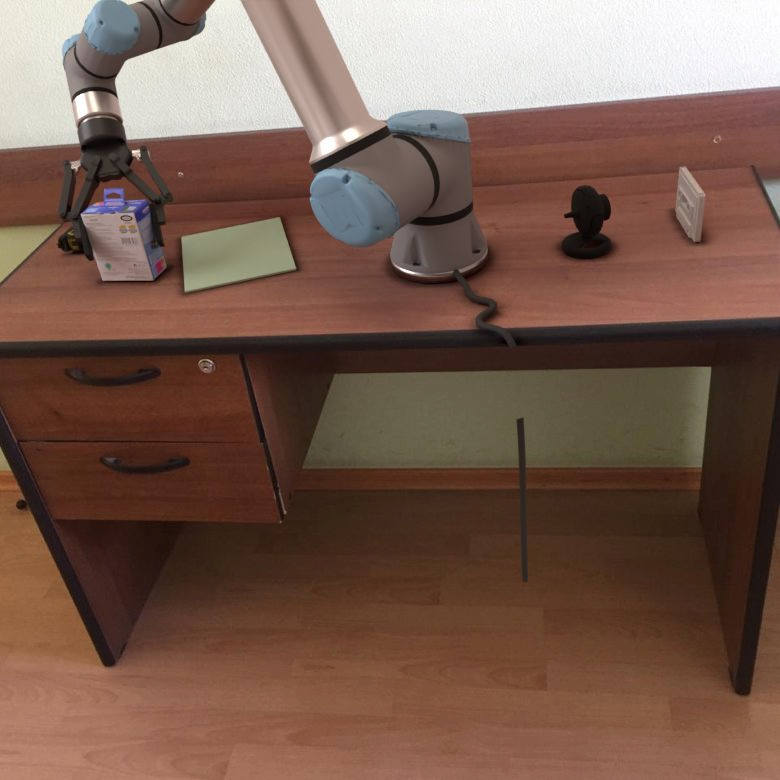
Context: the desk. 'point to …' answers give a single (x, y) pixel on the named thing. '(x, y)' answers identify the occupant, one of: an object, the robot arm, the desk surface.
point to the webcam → (587, 223)
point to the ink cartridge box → (123, 239)
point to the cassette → (690, 204)
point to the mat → (235, 255)
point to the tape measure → (69, 241)
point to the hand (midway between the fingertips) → (125, 250)
